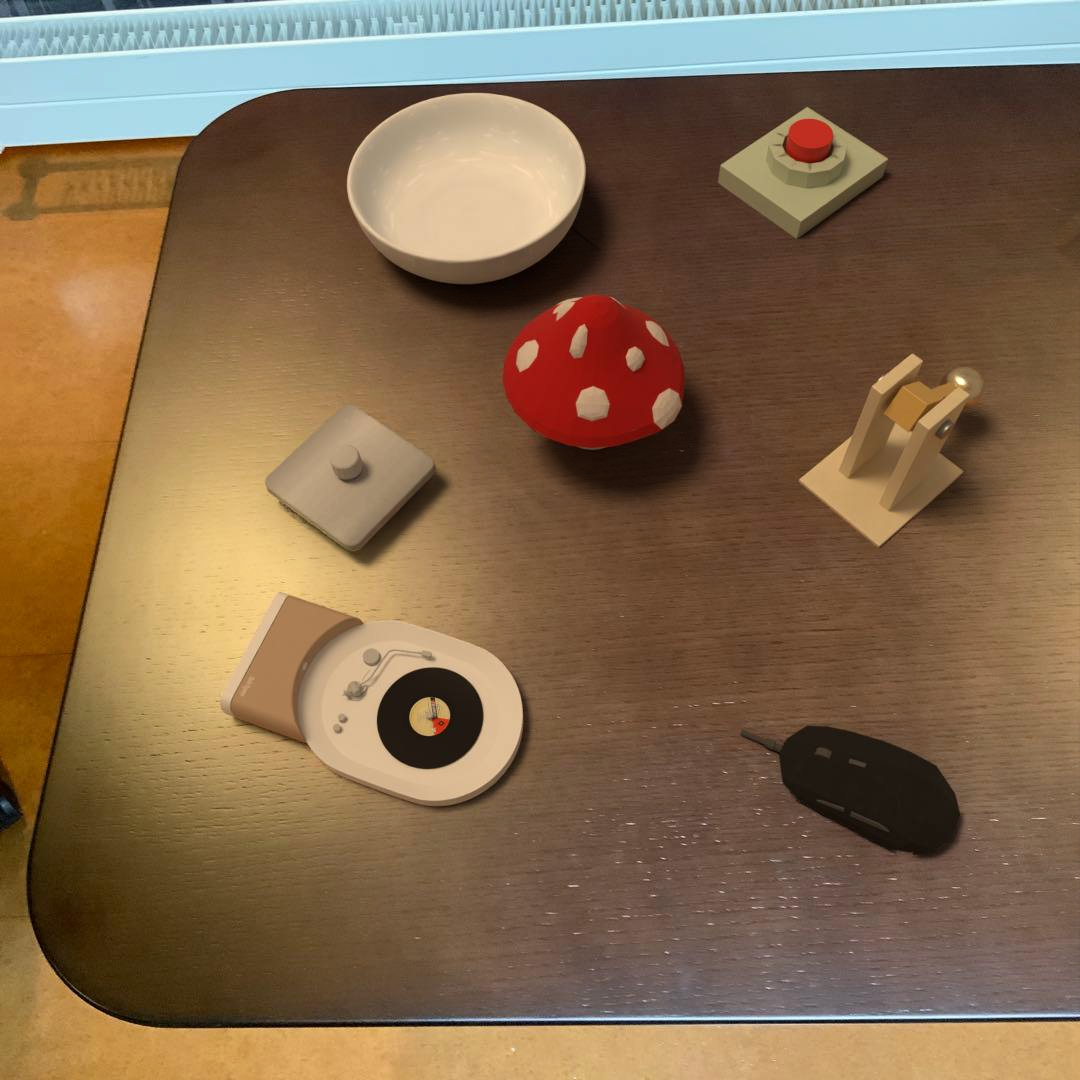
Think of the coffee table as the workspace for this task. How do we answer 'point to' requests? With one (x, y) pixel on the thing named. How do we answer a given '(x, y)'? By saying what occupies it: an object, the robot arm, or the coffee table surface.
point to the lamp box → (801, 176)
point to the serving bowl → (467, 186)
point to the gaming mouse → (869, 787)
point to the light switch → (350, 477)
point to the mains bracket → (888, 461)
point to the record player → (380, 701)
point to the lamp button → (809, 140)
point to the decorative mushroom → (594, 374)
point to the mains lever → (933, 396)
